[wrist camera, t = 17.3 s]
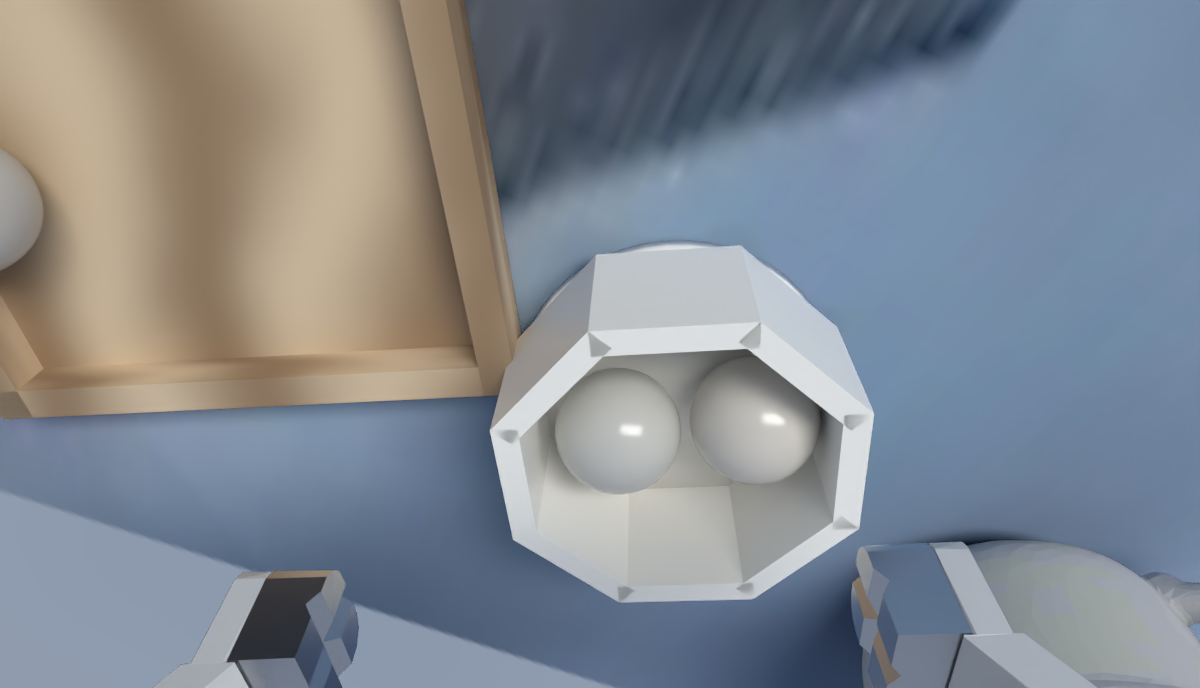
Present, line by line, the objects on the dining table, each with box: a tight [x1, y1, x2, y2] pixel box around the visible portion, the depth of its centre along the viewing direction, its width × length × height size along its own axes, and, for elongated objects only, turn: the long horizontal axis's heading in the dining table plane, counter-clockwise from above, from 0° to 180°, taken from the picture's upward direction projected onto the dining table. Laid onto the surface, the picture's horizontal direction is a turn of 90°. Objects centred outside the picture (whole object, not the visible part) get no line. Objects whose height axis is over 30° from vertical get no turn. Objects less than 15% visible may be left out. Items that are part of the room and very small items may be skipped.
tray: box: [0, 0, 522, 419], centre depth 19 cm, size 16×14×2 cm
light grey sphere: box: [555, 368, 681, 495], centre depth 22 cm, size 4×4×4 cm
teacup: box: [862, 540, 1200, 688], centre depth 24 cm, size 14×11×8 cm
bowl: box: [490, 241, 874, 602], centre depth 21 cm, size 9×9×5 cm
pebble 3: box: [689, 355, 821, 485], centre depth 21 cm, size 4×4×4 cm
